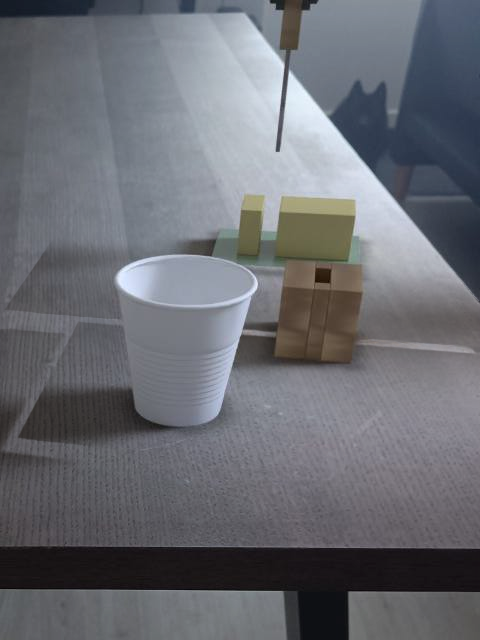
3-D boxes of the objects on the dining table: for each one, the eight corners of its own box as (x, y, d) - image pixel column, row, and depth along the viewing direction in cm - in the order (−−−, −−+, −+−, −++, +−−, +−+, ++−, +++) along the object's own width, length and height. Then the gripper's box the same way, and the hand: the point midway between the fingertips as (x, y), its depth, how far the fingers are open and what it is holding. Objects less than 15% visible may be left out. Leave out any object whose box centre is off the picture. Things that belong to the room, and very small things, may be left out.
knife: (287, 145, 99) (309, -54, 90) (286, 152, 97) (308, -51, 88) (270, 144, 99) (290, -54, 90) (268, 152, 97) (289, -51, 88)
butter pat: (261, 238, 106) (265, 195, 103) (257, 255, 102) (262, 210, 99) (241, 237, 106) (245, 194, 104) (236, 254, 102) (240, 209, 100)
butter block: (349, 243, 104) (355, 199, 101) (349, 261, 100) (355, 215, 97) (277, 239, 105) (281, 195, 103) (274, 256, 101) (279, 211, 99)
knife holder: (349, 343, 88) (362, 264, 84) (349, 374, 83) (362, 292, 79) (277, 337, 89) (286, 259, 86) (273, 367, 85) (282, 286, 81)
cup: (267, 438, 75) (283, 295, 69) (137, 459, 73) (143, 315, 67) (210, 379, 83) (221, 247, 77) (93, 397, 81) (95, 263, 75)
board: (357, 250, 106) (359, 235, 106) (357, 286, 98) (360, 271, 97) (218, 242, 110) (219, 228, 109) (208, 276, 102) (209, 261, 101)
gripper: (237, -199, 91) (211, -25, 88) (402, -206, 87) (382, -26, 84) (237, -131, 98) (213, 31, 95) (389, -136, 95) (371, 33, 91)
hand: (293, 3), depth 89 cm, fingers closed on knife, 1 cm apart
